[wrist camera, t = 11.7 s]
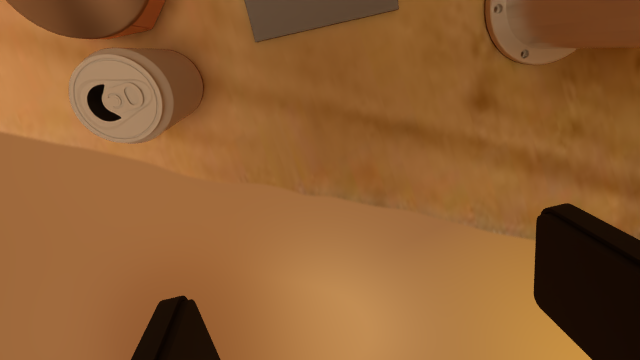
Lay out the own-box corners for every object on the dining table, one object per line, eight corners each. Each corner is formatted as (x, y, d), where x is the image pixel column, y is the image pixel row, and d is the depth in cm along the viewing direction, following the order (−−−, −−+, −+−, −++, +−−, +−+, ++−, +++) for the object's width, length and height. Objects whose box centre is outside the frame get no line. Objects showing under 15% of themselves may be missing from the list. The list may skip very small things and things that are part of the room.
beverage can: (123, 61, 32) (38, 65, 20) (188, 40, 32) (139, 34, 20) (154, 125, 34) (93, 160, 23) (215, 106, 34) (183, 132, 23)
